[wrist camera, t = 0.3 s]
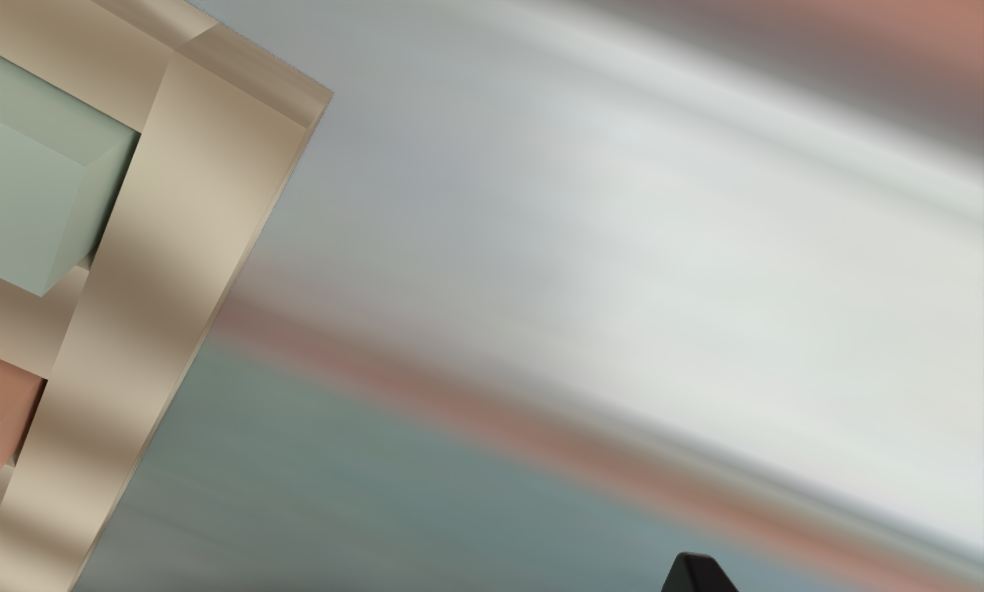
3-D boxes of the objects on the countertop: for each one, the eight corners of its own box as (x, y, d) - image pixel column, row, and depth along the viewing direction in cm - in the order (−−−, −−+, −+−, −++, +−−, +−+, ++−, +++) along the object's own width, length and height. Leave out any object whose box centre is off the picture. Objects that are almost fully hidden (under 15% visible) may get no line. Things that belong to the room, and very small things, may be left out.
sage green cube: (108, 234, 21) (41, 297, 18) (-43, 158, 20) (-140, 212, 17) (152, 117, 19) (86, 167, 16) (-13, 24, 18) (-118, 60, 15)
